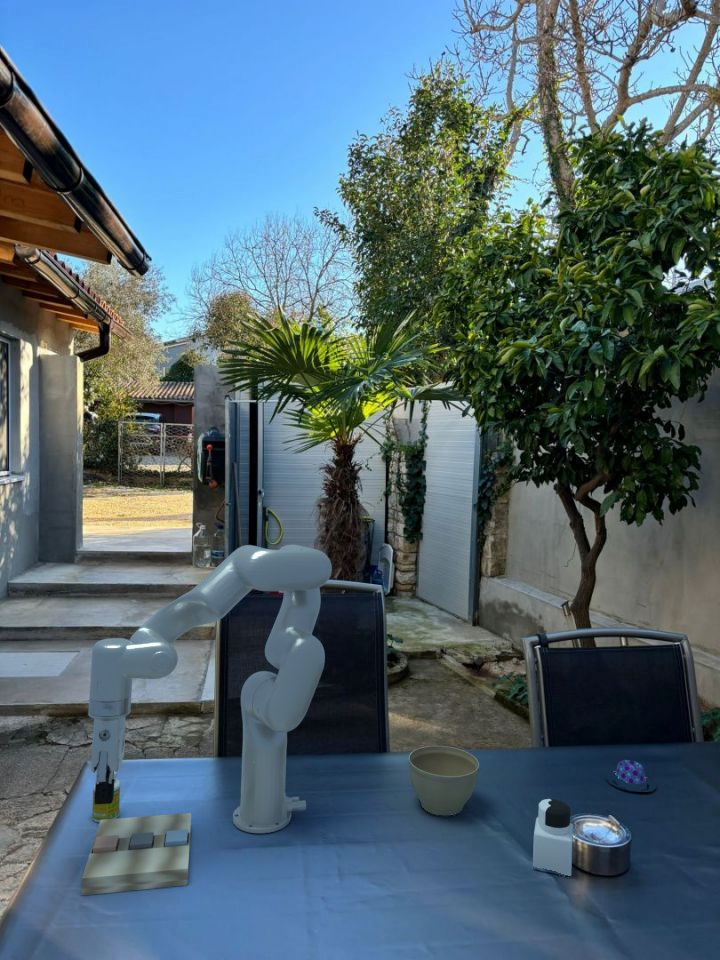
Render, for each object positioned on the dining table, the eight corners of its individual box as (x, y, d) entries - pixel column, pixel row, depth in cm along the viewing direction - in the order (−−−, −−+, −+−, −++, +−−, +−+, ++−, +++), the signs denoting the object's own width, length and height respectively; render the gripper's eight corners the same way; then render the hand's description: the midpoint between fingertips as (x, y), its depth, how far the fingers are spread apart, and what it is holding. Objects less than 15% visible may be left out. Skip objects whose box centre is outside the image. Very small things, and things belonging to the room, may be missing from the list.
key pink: (118, 842, 127) (118, 834, 127) (115, 854, 123) (115, 846, 123) (96, 844, 126) (96, 836, 126) (92, 856, 122) (93, 848, 122)
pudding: (664, 797, 160) (665, 775, 160) (615, 795, 160) (616, 773, 160) (644, 775, 172) (644, 755, 172) (598, 773, 172) (599, 753, 172)
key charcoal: (153, 839, 129) (153, 832, 129) (151, 851, 125) (151, 843, 125) (131, 841, 128) (132, 833, 128) (129, 853, 124) (129, 845, 124)
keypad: (190, 827, 138) (191, 812, 138) (187, 885, 119) (188, 868, 119) (100, 834, 134) (100, 819, 134) (81, 895, 115) (81, 878, 115)
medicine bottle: (571, 858, 131) (573, 799, 131) (571, 878, 125) (573, 815, 125) (535, 850, 134) (537, 792, 134) (532, 870, 127) (534, 808, 127)
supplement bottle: (109, 825, 138) (111, 779, 138) (86, 821, 139) (88, 775, 139) (123, 812, 143) (125, 768, 143) (101, 809, 144) (103, 765, 144)
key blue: (187, 836, 130) (187, 829, 130) (186, 848, 126) (186, 840, 126) (166, 838, 129) (166, 831, 129) (165, 849, 125) (165, 842, 125)
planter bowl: (397, 815, 146) (399, 766, 146) (418, 785, 161) (420, 740, 161) (468, 832, 140) (470, 781, 140) (483, 799, 155) (485, 753, 155)
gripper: (125, 718, 118) (119, 820, 118) (135, 692, 133) (129, 783, 133) (81, 719, 117) (74, 823, 116) (95, 693, 131) (89, 785, 131)
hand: (103, 801), depth 125 cm, fingers closed
